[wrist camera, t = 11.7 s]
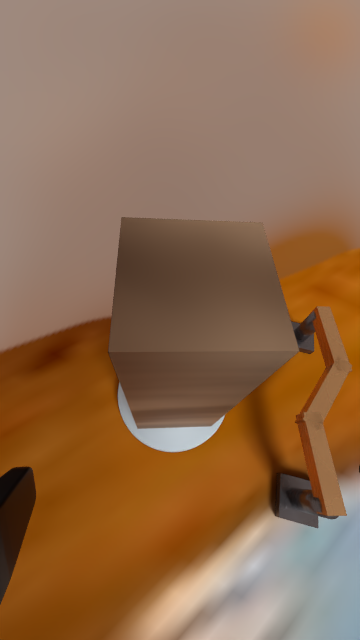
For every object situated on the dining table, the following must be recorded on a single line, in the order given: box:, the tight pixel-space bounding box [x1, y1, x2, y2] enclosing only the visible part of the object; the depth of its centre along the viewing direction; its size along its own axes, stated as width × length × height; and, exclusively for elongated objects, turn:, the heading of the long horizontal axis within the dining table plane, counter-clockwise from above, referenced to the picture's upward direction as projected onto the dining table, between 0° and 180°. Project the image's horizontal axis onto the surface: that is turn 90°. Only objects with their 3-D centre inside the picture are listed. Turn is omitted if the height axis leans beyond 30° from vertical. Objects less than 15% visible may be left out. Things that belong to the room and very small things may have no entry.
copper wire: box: [275, 306, 352, 528], centre depth 18 cm, size 14×3×4 cm, turn 166°
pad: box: [118, 382, 225, 452], centre depth 20 cm, size 8×8×1 cm
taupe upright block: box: [108, 217, 299, 429], centre depth 14 cm, size 5×5×13 cm
